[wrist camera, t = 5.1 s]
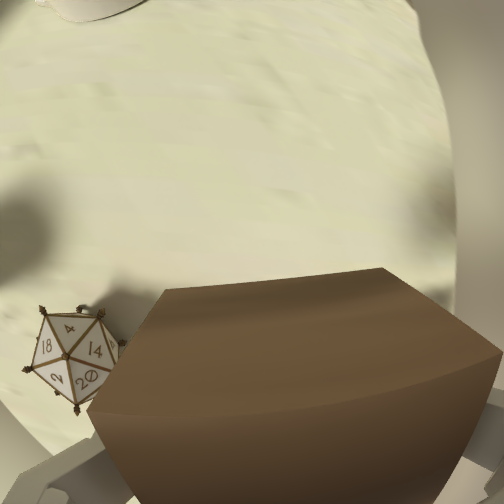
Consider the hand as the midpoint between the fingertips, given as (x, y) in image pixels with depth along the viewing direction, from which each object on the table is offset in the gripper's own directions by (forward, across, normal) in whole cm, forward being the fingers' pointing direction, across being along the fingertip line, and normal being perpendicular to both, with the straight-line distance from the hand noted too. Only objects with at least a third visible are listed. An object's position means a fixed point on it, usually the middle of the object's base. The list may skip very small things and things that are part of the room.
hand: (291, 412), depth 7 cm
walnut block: (+2, 0, 0) cm, 2 cm away
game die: (+17, +15, +6) cm, 23 cm away
